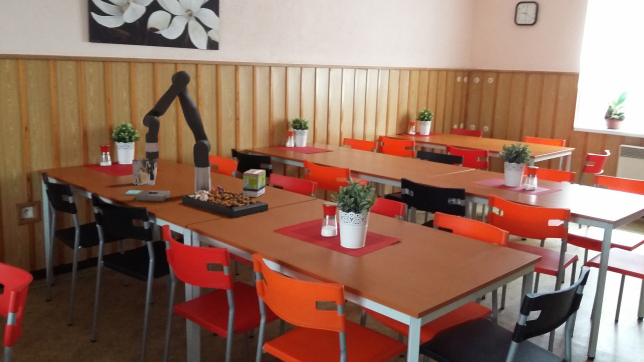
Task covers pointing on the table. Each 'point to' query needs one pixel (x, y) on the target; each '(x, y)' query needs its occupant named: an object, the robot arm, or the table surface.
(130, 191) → the teal square tile
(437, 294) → the table surface
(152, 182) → the cream rounded tapered piece
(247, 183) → the tea box
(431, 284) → the table surface
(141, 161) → the coffee box
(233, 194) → the food platter
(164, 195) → the socket block
